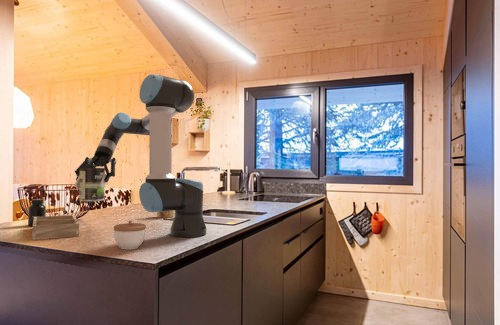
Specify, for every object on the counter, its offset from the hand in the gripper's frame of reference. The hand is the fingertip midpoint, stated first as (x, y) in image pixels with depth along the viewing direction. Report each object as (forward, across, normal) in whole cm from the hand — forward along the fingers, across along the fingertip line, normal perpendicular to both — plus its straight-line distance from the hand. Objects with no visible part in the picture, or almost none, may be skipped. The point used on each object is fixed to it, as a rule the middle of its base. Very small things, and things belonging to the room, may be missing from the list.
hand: (88, 187), depth 154 cm
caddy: (+16, +12, -11) cm, 23 cm away
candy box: (-17, -22, -46) cm, 53 cm away
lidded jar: (+32, -28, +6) cm, 43 cm away
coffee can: (+2, 0, -7) cm, 7 cm away
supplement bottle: (+6, +29, -21) cm, 37 cm away
